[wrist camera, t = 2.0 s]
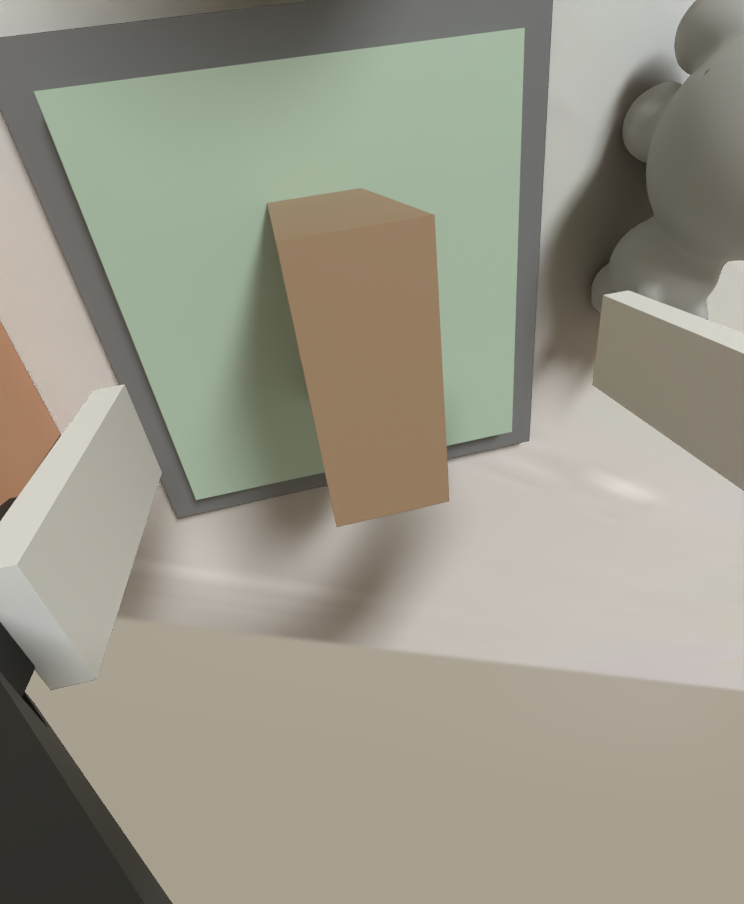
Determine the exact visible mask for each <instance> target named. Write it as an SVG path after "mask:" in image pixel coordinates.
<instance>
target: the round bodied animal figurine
mask: <svg viewBox="0 0 744 904" xmlns="http://www.w3.org/2000/svg"><path fill="white" fill-rule="evenodd" d="M674 46H675V55H676V59H677V62H678V64H679V66H680V67H681V68H682V69H683V70H684V71H685V72H686V73H688V74H690V75H691V76H690V77H689V78H688V79H687V80H686V81H685V82H684V84H683V85H682V84H680V83H677V82H665V83H661V84H658V85H656V86H654V87H652V88H650V89H648V90H647V91H645V92H644V93H643V94H642V95H640V96H639V97H638V98H637V99H636V100H635V101H634V102H633V103H632V105H631V106H630V108H629V109H628V111H627V113H626V116H625V119H624V122H623V128H622V136H623V141H624V144H625V146H626V148H627V150H628V151H629V152H630V153H631V154H632V155H633V156H634V157H635V158H636V159H638V160H640V161H642V162H645V163H647V165H646V185H647V193H648V197H649V201H650V205H651V207H652V210H653V213H654V216H653V217H652V218H650V219H648V220H646V221H644V222H642V223H640V224H638V225H637V226H635V227H634V228H632V229H631V230H630V231H629V232H627V233H626V234H625V235H624V236H623V237H622V239H621V240H620V241H619V242H618V244H617V245H616V247H615V249H614V250H613V253H612V255H611V258H610V262H609V263H608V264H607V265H605V266H604V267H603V268H602V269H601V270H600V271H599V272H598V273H597V275H596V277H595V278H594V281H593V283H592V287H591V295H592V299H591V304H592V306H593V308H594V309H595V310H597V311H599V312H600V313H601V309H602V300H603V295H606V294H612V293H617V292H622V291H628V290H629V291H632V292H634V293H637V294H640V295H642V296H645V297H648V298H650V299H653V300H656V301H658V302H661V303H664V304H666V305H669V306H672V307H674V308H677V309H680V310H682V311H685V312H688V313H690V314H693V315H696V316H699V317H701V318H704V319H707V320H708V309H707V303H706V299H707V297H708V296H709V295H710V293H711V292H712V291H713V289H714V287H715V286H716V284H717V282H718V279H719V276H720V273H721V270H722V268H723V266H724V265H725V264H726V263H727V262H729V261H734V260H744V0H696V1H695V2H694V3H693V4H692V6H691V7H690V8H689V9H688V11H687V12H686V13H685V15H684V16H683V18H682V20H681V22H680V24H679V26H678V29H677V32H676V36H675V45H674Z"/></svg>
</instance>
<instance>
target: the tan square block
mask: <svg viewBox="0 0 744 904" xmlns="http://www.w3.org/2000/svg"><path fill="white" fill-rule="evenodd" d="M59 436H60V432H59V430H58V428H57V427H56V425H55V423H54V421H53V419H52V417H51V415H50V413H49V412H48V410H47V408H46V406H45V404H44V402H43V400H42V398H41V397H40V395H39V393H38V391H37V389H36V387H35V385H34V384H33V382H32V380H31V378H30V376H29V374H28V372H27V370H26V369H25V367H24V365H23V363H22V361H21V359H20V357H19V355H18V354H17V352H16V350H15V348H14V346H13V344H12V342H11V340H10V339H9V337H8V335H7V333H6V331H5V329H4V327H3V326H2V324H1V322H0V506H1V505H2V504H3V503H4V502H6V501H7V500H8V499H9V498H14V497H18V496H19V494H20V493H21V491H22V490H23V488H24V487H25V486H26V484H27V483H28V481H29V480H30V478H31V477H32V475H33V474H34V472H35V471H36V469H37V468H38V466H39V465H40V463H41V462H42V461H43V459H44V458H45V456H46V455H47V453H48V452H49V450H50V449H51V447H52V446H53V444H54V443H55V441H56V440H57V438H58V437H59Z"/></svg>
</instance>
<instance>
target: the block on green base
mask: <svg viewBox="0 0 744 904" xmlns="http://www.w3.org/2000/svg"><path fill="white" fill-rule="evenodd" d="M524 36H525V28H518V29H511V30H503V31H495V32H488V33H480V34H472V35H464V36H457V37H449V38H441V39H434V40H426V41H418V42H410V43H403V44H395V45H387V46H380V47H372V48H364V49H356V50H349V51H341V52H333V53H325V54H318V55H310V56H302V57H295V58H287V59H279V60H271V61H264V62H256V63H248V64H241V65H233V66H225V67H217V68H210V69H202V70H194V71H187V72H179V73H171V74H163V75H156V76H148V77H140V78H133V79H125V80H117V81H109V82H102V83H94V84H86V85H79V86H71V87H63V88H55V89H48V90H40V91H34V93H35V96H36V98H37V101H38V103H39V106H40V108H41V111H42V113H43V116H44V118H45V121H46V123H47V126H48V128H49V131H50V133H51V136H52V138H53V141H54V144H55V146H56V149H57V151H58V154H59V156H60V159H61V161H62V164H63V166H64V169H65V171H66V174H67V176H68V179H69V181H70V184H71V186H72V189H73V191H74V194H75V196H76V199H77V201H78V204H79V206H80V209H81V211H82V214H83V217H84V219H85V222H86V224H87V227H88V229H89V232H90V234H91V237H92V239H93V242H94V244H95V247H96V249H97V252H98V254H99V257H100V259H101V262H102V264H103V267H104V269H105V272H106V274H107V277H108V279H109V282H110V284H111V287H112V290H113V292H114V295H115V297H116V300H117V302H118V305H119V307H120V310H121V312H122V315H123V317H124V320H125V322H126V325H127V327H128V330H129V332H130V335H131V337H132V340H133V342H134V345H135V347H136V350H137V352H138V355H139V357H140V360H141V362H142V365H143V368H144V370H145V373H146V375H147V378H148V380H149V383H150V385H151V388H152V390H153V393H154V395H155V398H156V400H157V403H158V405H159V408H160V410H161V413H162V415H163V418H164V420H165V423H166V425H167V428H168V430H169V433H170V435H171V438H172V441H173V443H174V446H175V448H176V451H177V453H178V456H179V458H180V461H181V463H182V466H183V468H184V471H185V473H186V476H187V478H188V481H189V483H190V486H191V488H192V491H193V493H194V496H195V498H196V500H199V499H204V498H208V497H213V496H217V495H222V494H227V493H231V492H236V491H241V490H245V489H250V488H254V487H259V486H264V485H268V484H273V483H278V482H282V481H287V480H291V479H296V478H301V477H305V476H310V475H314V474H319V473H324V472H325V476H326V480H327V485H328V489H329V494H330V499H331V503H332V508H333V512H334V517H335V522H336V526H337V527H339V526H344V525H348V524H352V523H357V522H361V521H365V520H370V519H374V518H379V517H383V516H387V515H392V514H396V513H400V512H405V511H409V510H414V509H418V508H422V507H427V506H431V505H435V504H440V503H444V502H449V484H448V464H447V446H448V445H453V444H458V443H462V442H467V441H471V440H476V439H481V438H485V437H490V436H495V435H499V434H504V433H508V432H512V416H513V384H514V353H515V321H516V289H517V258H518V226H519V194H520V162H521V131H522V99H523V67H524Z"/></svg>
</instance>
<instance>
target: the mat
mask: <svg viewBox="0 0 744 904" xmlns="http://www.w3.org/2000/svg"><path fill="white" fill-rule="evenodd" d="M552 9H553V0H312V1H304V2H296V3H287V4H279V5H270V6H262V7H253V8H245V9H236V10H228V11H219V12H211V13H202V14H194V15H186V16H177V17H169V18H160V19H152V20H143V21H135V22H126V23H118V24H109V25H101V26H93V27H84V28H76V29H67V30H59V31H50V32H42V33H33V34H25V35H16V36H8V37H0V110H1V112H2V114H3V117H4V119H5V121H6V124H7V126H8V128H9V130H10V133H11V135H12V137H13V140H14V142H15V144H16V147H17V149H18V151H19V154H20V156H21V158H22V160H23V163H24V165H25V167H26V170H27V172H28V174H29V177H30V179H31V181H32V184H33V186H34V188H35V190H36V193H37V195H38V197H39V200H40V202H41V204H42V207H43V209H44V211H45V214H46V216H47V218H48V220H49V223H50V225H51V227H52V230H53V232H54V234H55V237H56V239H57V241H58V244H59V246H60V248H61V250H62V253H63V255H64V257H65V260H66V262H67V264H68V267H69V269H70V271H71V274H72V276H73V278H74V280H75V283H76V285H77V287H78V290H79V292H80V294H81V297H82V299H83V301H84V304H85V306H86V308H87V310H88V313H89V315H90V317H91V320H92V322H93V324H94V327H95V329H96V331H97V334H98V336H99V338H100V340H101V343H102V345H103V347H104V350H105V352H106V354H107V357H108V359H109V361H110V364H111V366H112V368H113V370H114V373H115V375H116V377H117V380H118V382H119V384H120V385H124V384H125V387H126V389H127V391H128V394H129V396H130V398H131V401H132V403H133V405H134V408H135V410H136V412H137V415H138V417H139V420H140V422H141V424H142V427H143V429H144V431H145V434H146V436H147V438H148V441H149V443H150V446H151V448H152V450H153V453H154V455H155V457H156V460H157V462H158V464H159V467H160V469H161V471H162V474H161V477H160V479H161V481H162V483H163V486H164V488H165V490H166V493H167V495H168V497H169V500H170V502H171V504H172V507H173V509H174V511H175V513H176V516H177V518H180V517H185V516H189V515H194V514H199V513H203V512H208V511H212V510H217V509H221V508H226V507H230V506H235V505H240V504H244V503H249V502H253V501H258V500H262V499H267V498H271V497H276V496H281V495H285V494H290V493H294V492H299V491H303V490H308V489H313V488H317V487H322V486H326V485H327V480H326V476H325V472H324V473H319V474H314V475H310V476H305V477H301V478H296V479H291V480H287V481H282V482H278V483H273V484H268V485H264V486H259V487H254V488H250V489H245V490H241V491H236V492H231V493H227V494H222V495H217V496H213V497H208V498H204V499H199V500H196V498H195V496H194V493H193V491H192V488H191V486H190V483H189V481H188V478H187V476H186V473H185V471H184V468H183V466H182V463H181V461H180V458H179V456H178V453H177V451H176V448H175V446H174V443H173V441H172V438H171V435H170V433H169V430H168V428H167V425H166V423H165V420H164V418H163V415H162V413H161V410H160V408H159V405H158V403H157V400H156V398H155V395H154V393H153V390H152V388H151V385H150V383H149V380H148V378H147V375H146V373H145V370H144V368H143V365H142V362H141V360H140V357H139V355H138V352H137V350H136V347H135V345H134V342H133V340H132V337H131V335H130V332H129V330H128V327H127V325H126V322H125V320H124V317H123V315H122V312H121V310H120V307H119V305H118V302H117V300H116V297H115V295H114V292H113V290H112V287H111V284H110V282H109V279H108V277H107V274H106V272H105V269H104V267H103V264H102V262H101V259H100V257H99V254H98V252H97V249H96V247H95V244H94V242H93V239H92V237H91V234H90V232H89V229H88V227H87V224H86V222H85V219H84V217H83V214H82V211H81V209H80V206H79V204H78V201H77V199H76V196H75V194H74V191H73V189H72V186H71V184H70V181H69V179H68V176H67V174H66V171H65V169H64V166H63V164H62V161H61V159H60V156H59V154H58V151H57V149H56V146H55V144H54V141H53V138H52V136H51V133H50V131H49V128H48V126H47V123H46V121H45V118H44V116H43V113H42V111H41V108H40V106H39V103H38V101H37V98H36V96H35V93H34V91H40V90H48V89H55V88H63V87H71V86H79V85H86V84H94V83H102V82H109V81H117V80H125V79H133V78H140V77H148V76H156V75H163V74H171V73H179V72H187V71H194V70H202V69H210V68H217V67H225V66H233V65H241V64H248V63H256V62H264V61H271V60H279V59H287V58H295V57H302V56H310V55H318V54H325V53H333V52H341V51H349V50H356V49H364V48H372V47H380V46H387V45H395V44H403V43H410V42H418V41H426V40H434V39H441V38H449V37H457V36H464V35H472V34H480V33H488V32H495V31H503V30H511V29H518V28H525V36H524V67H523V99H522V131H521V162H520V194H519V226H518V258H517V289H516V321H515V353H514V384H513V416H512V432H508V433H504V434H499V435H495V436H490V437H485V438H481V439H476V440H471V441H467V442H462V443H458V444H453V445H448V446H447V459H449V458H454V457H458V456H463V455H467V454H472V453H477V452H481V451H486V450H490V449H495V448H499V447H504V446H508V445H513V444H518V443H522V442H527V441H529V437H530V418H531V399H532V381H533V362H534V344H535V325H536V306H537V288H538V269H539V251H540V232H541V213H542V195H543V176H544V158H545V139H546V120H547V102H548V83H549V64H550V46H551V27H552Z"/></svg>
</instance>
